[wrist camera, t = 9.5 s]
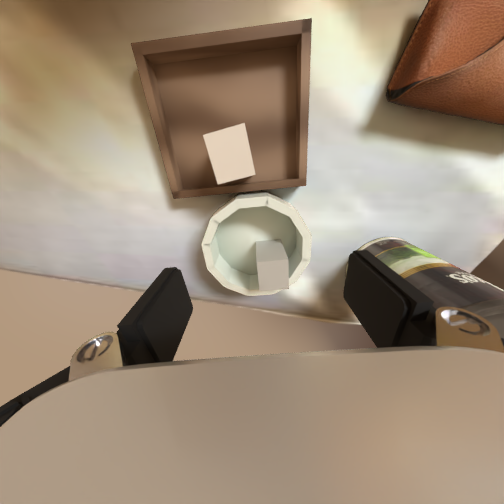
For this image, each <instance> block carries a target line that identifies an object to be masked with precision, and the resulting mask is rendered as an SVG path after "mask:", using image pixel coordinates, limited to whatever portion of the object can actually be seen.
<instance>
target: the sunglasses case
mask: <svg viewBox="0 0 504 504" xmlns="http://www.w3.org/2000/svg"><path fill="white" fill-rule="evenodd" d="M386 96H387V100H388V102H391V103H395V104H399V105H404V106H408V107H414V108H418V109H424V110H430V111H435V112H440V113H444V114H448V115H455V116H461V117H465V118H471V119H476V120H481V121H485V122H490V123H496V124H500V125H504V0H429V1H428V3H427V5H426V7H425V9H424V10H423V12H422V14H421V16H420V18H419V20H418V22H417V24H416V26H415V29H414V31H413V33H412V35H411V37H410V39H409V41H408V43H407V46H406V48H405V50H404V52H403V54H402V56H401V58H400V61H399V63H398V65H397V67H396V69H395V72H394V74H393V76H392V78H391V80H390V83H389V85H388V87H387V94H386Z"/></svg>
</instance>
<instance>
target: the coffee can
mask: <svg viewBox="0 0 504 504" xmlns="http://www.w3.org/2000/svg"><path fill="white" fill-rule="evenodd" d="M358 250H368V251H369V252H370V253H371V254H373V255H374V256H375V257H377V258H378V259H379V260H381V261H382V262H383V263H385V264H386V265H387V266H388V267H390V268H391V269H392V270H394V271H395V272H396V273H398V274H399V275H400V276H401V277H403V278H404V279H405V280H407V281H408V282H409V283H411V284H412V285H413V286H415V287H416V288H417V289H418V290H420V291H421V292H422V293H424V294H425V295H426V296H428V297H429V298H430V299H431V300H433V301H434V303H433V305H432V306H433V307H434V308H435V309H438V308H440V307H456V308H460V309H464V310H467V311H470V312H472V313H475V314H477V315H479V316H481V317H482V318H484V319H486V320H487V321H489V322H490V323H491V324H492V325H493V326H495V328H496V329H497V331H498V333H499V335H500V338H503V339H504V290H502V289H500V288H498V287H496V286H494V285H492V284H490V283H488V282H486V281H484V280H482V279H480V278H478V277H476V276H474V275H472V274H470V273H468V272H466V271H464V270H462V269H460V268H458V267H456V266H454V265H452V264H450V263H448V262H446V261H443V260H441V259H440V258H438V257H436V256H434V255H432V254H430V253H428V252H426V251H424V250H422V249H420V248H418V247H416V246H414V245H412V244H410V243H408V242H407V241H405V240H403V239H400V238H396V237H384V238H379V239H376V240H373V241H371V242H369V243H367V244H365V245H363V246H362V247H361V248H359V249H358ZM347 267H348V264H347ZM347 267H346V274H347Z"/></svg>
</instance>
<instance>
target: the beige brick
mask: <svg viewBox="0 0 504 504" xmlns="http://www.w3.org/2000/svg"><path fill="white" fill-rule="evenodd" d="M203 137H204V140H205V144H206V147H207V150H208V154H209V157H210V160H211V164H212V167H213V170H214V174H215V177H216V180H217V184H222V183H226V182H230V181H233V180H237V179H241V178H245V177H249V176H253V175H256V174H255V170H254V165H253V160H252V156H251V151H250V146H249V141H248V137H247V132H246V127H245V123H242V124H239V125H235V126H232V127H229V128H225V129H222V130H218V131H215V132H211V133H208V134H205V135H203Z"/></svg>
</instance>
